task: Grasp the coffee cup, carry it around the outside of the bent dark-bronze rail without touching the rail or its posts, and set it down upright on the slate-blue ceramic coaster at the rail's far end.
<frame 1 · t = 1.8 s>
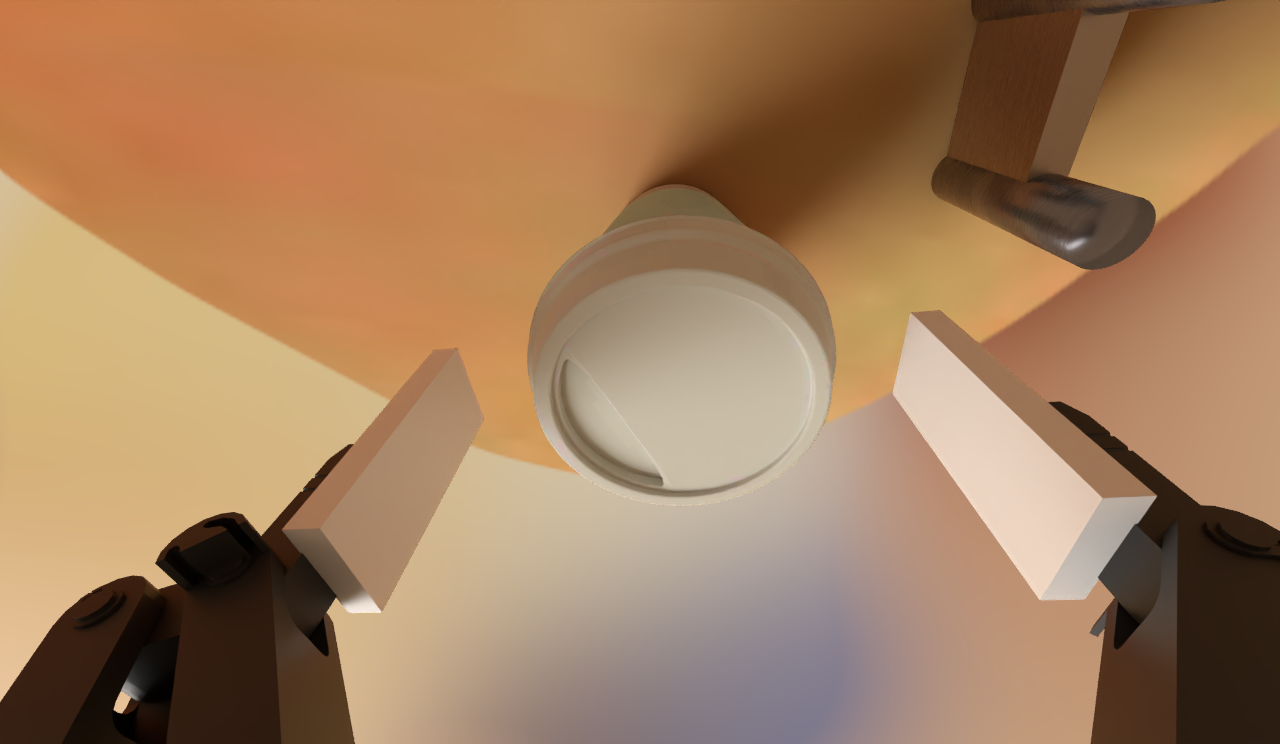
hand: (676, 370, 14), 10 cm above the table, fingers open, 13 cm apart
coffee cup: (673, 248, 22), on the table
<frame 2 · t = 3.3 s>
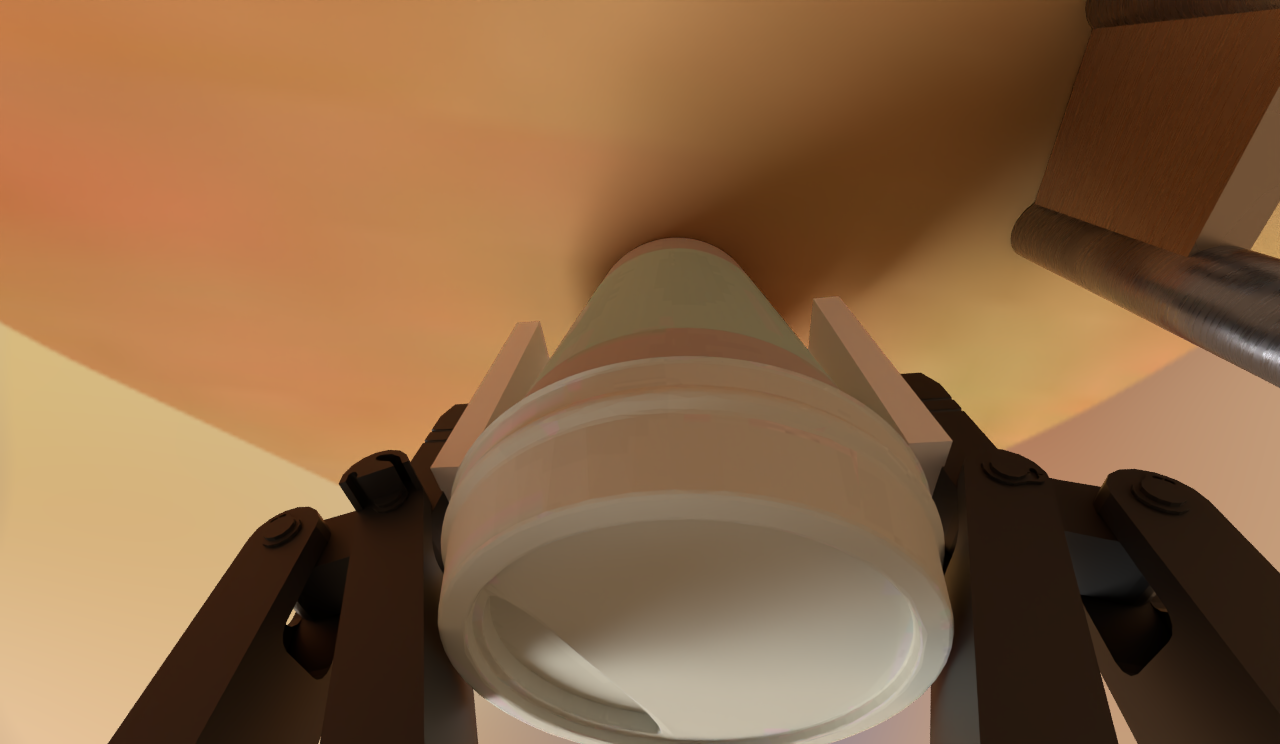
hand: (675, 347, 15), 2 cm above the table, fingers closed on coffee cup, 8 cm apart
coffee cup: (674, 313, 17), on the table, touching gripper
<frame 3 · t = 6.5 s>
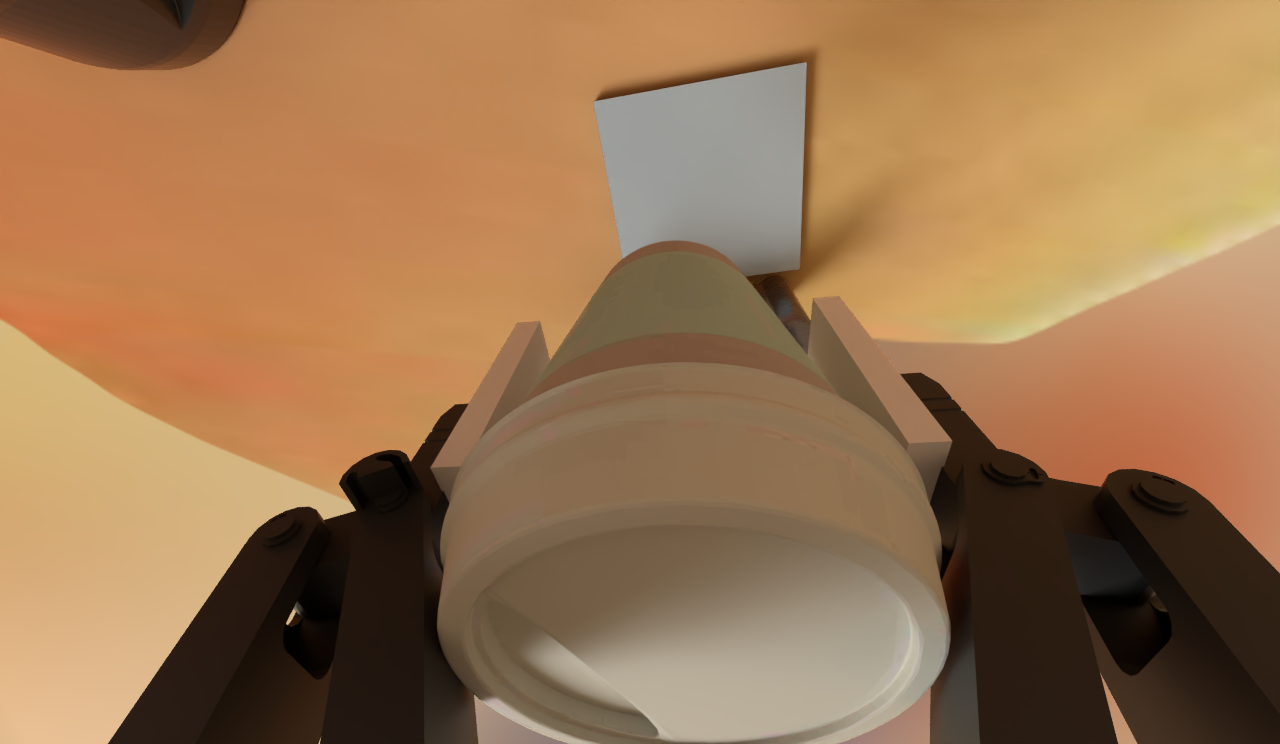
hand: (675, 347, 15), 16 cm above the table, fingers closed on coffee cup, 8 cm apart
rail: (611, 311, 32), on the table
coaster: (704, 190, 27), on the table
coffee cup: (673, 315, 17), point 13 cm above the table, touching gripper
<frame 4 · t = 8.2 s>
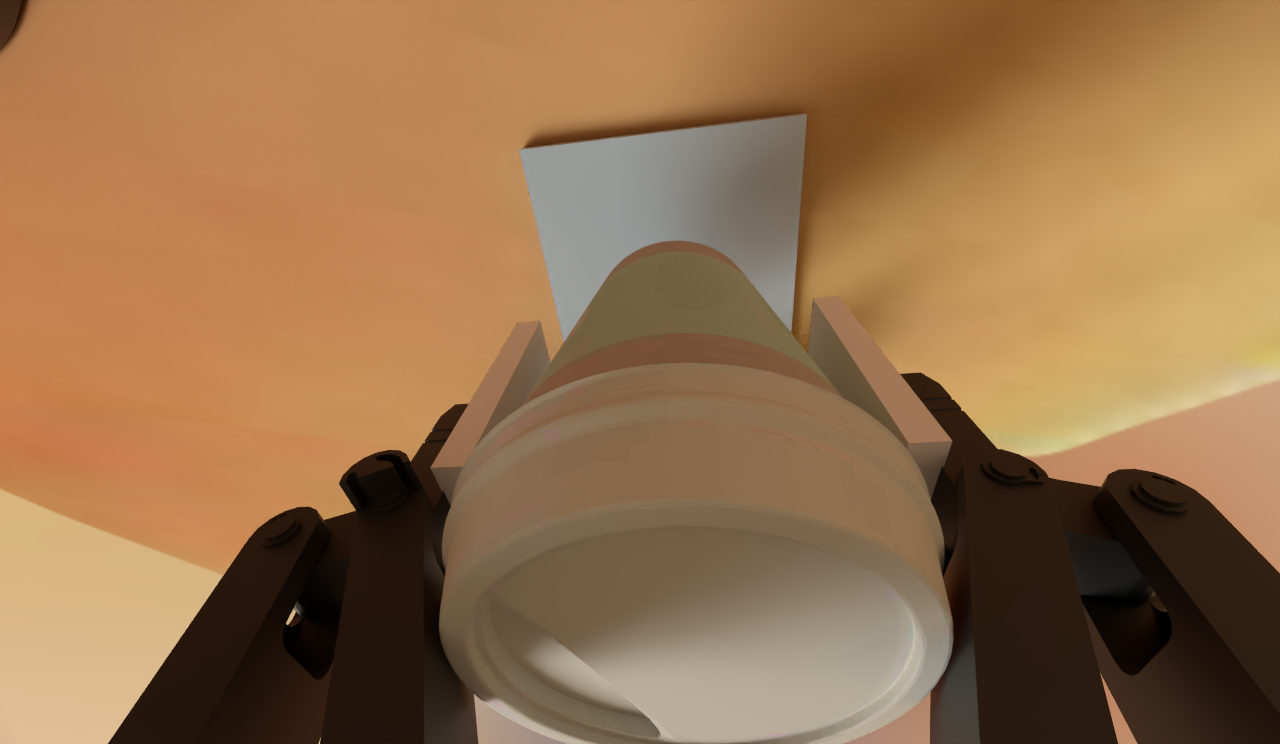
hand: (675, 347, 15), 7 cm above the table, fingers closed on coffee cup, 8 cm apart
coaster: (669, 265, 21), on the table
coffee cup: (674, 315, 17), point 5 cm above the table, touching gripper
when the fingers open (4 cm above the table, at t = 9.8 s): coffee cup stays where it is, resting on coaster.
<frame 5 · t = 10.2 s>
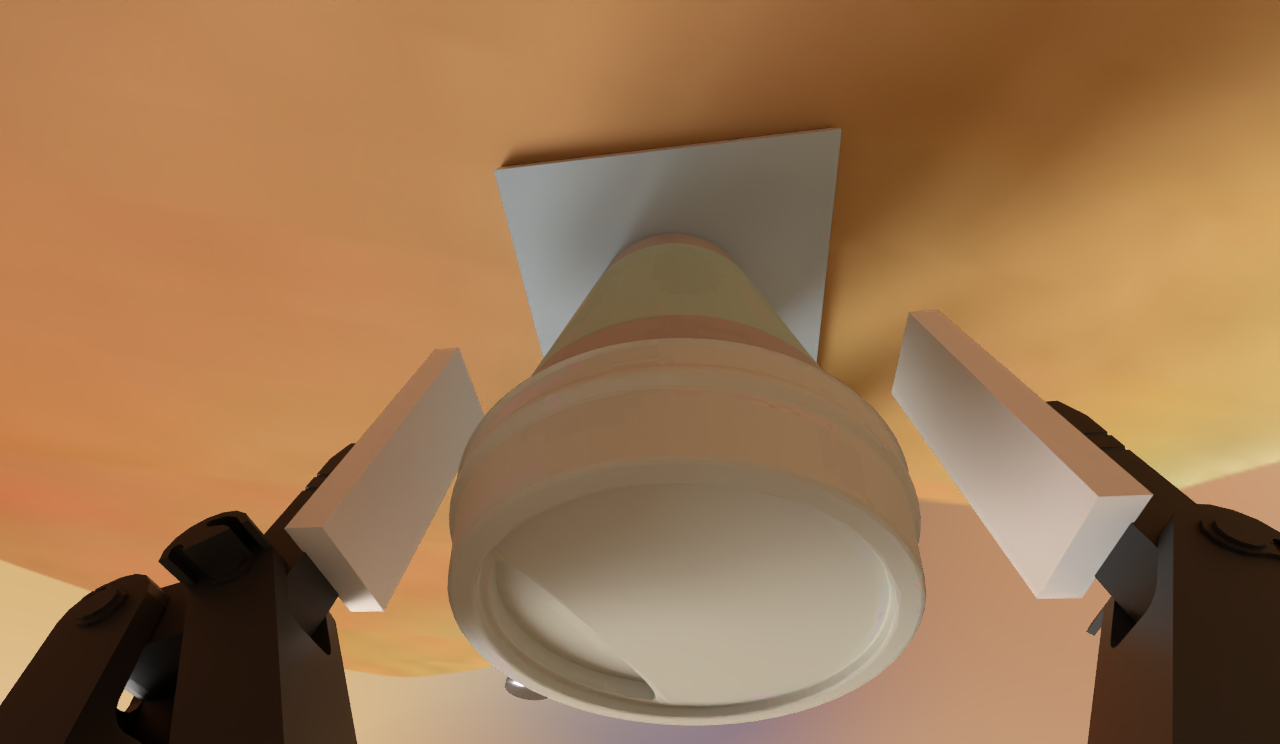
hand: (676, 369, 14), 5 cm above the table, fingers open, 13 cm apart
rail: (540, 446, 22), on the table
coaster: (673, 302, 18), on the table
coffee cup: (671, 307, 18), resting on coaster
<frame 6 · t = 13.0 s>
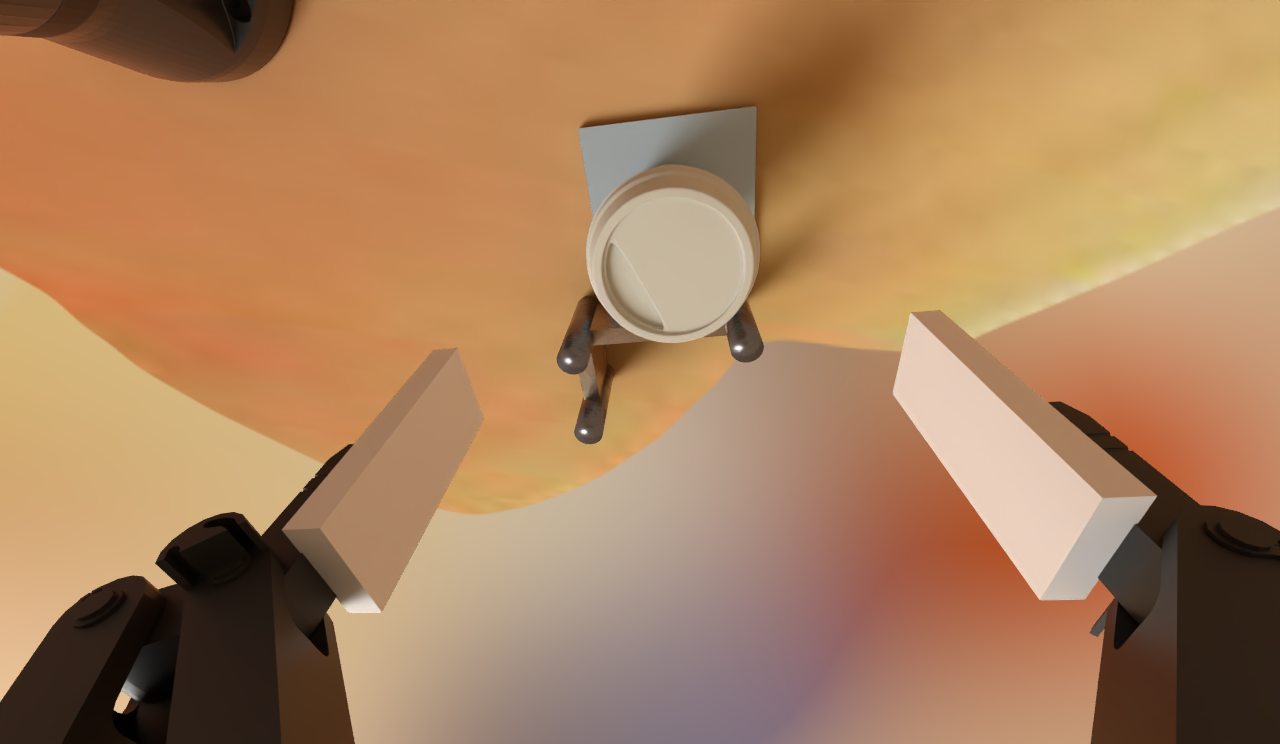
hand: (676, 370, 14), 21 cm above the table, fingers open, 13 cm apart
rail: (590, 308, 36), on the table
coaster: (672, 207, 32), on the table
coffee cup: (670, 209, 31), resting on coaster
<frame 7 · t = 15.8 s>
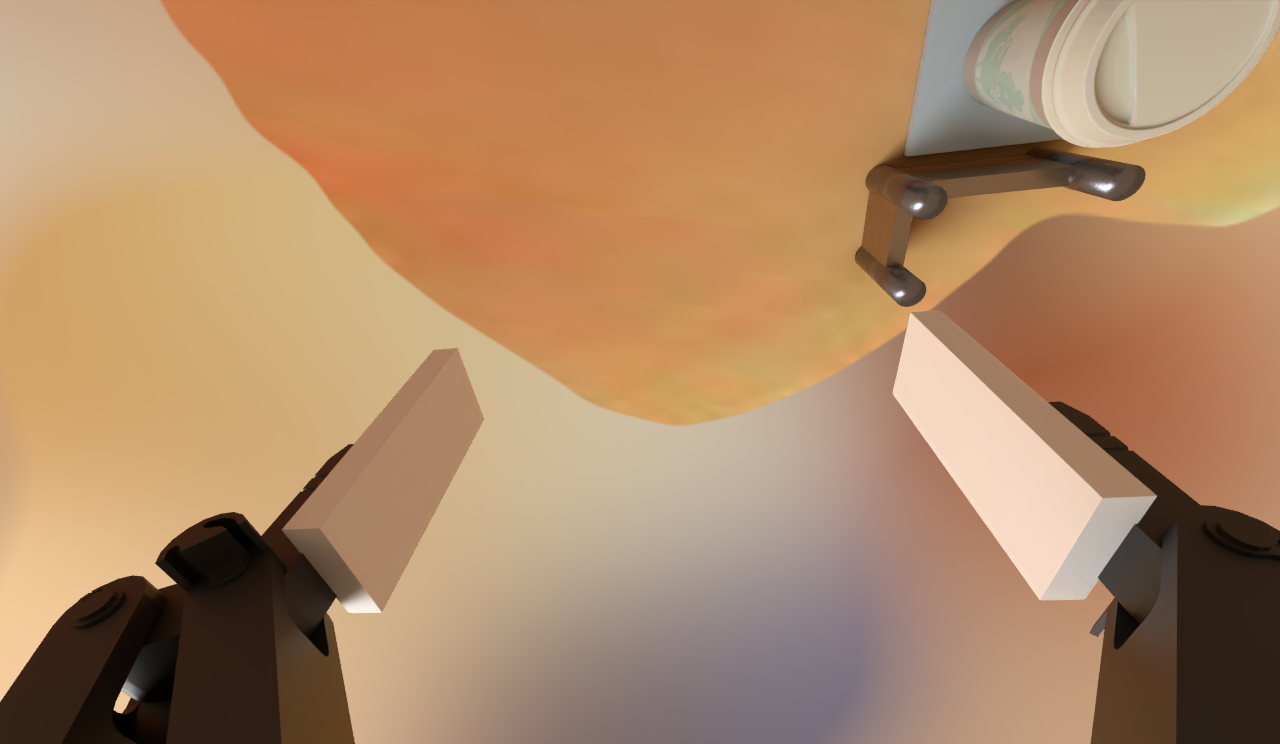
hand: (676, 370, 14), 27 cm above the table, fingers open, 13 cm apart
rail: (879, 178, 35), on the table
coaster: (1006, 55, 31), on the table
coffee cup: (1008, 56, 30), resting on coaster
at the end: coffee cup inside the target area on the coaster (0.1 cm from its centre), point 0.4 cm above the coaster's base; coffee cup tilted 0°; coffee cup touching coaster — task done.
